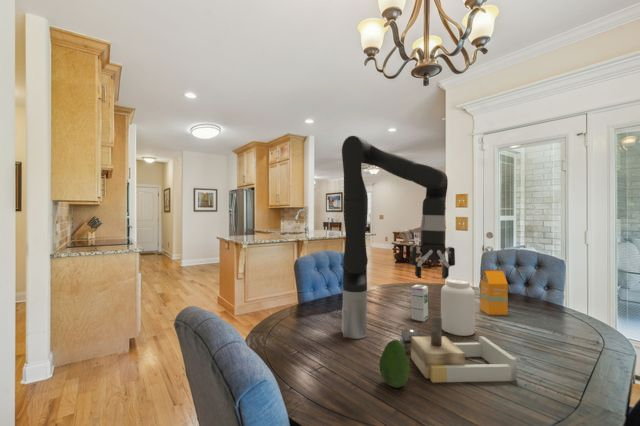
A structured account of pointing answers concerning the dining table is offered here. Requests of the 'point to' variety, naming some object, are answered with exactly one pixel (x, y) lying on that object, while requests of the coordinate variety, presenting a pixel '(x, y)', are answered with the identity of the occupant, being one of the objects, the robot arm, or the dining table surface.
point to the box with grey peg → (435, 349)
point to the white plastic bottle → (458, 307)
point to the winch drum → (408, 338)
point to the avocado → (394, 364)
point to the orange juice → (494, 293)
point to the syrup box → (419, 302)
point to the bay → (478, 365)
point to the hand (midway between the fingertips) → (431, 278)
